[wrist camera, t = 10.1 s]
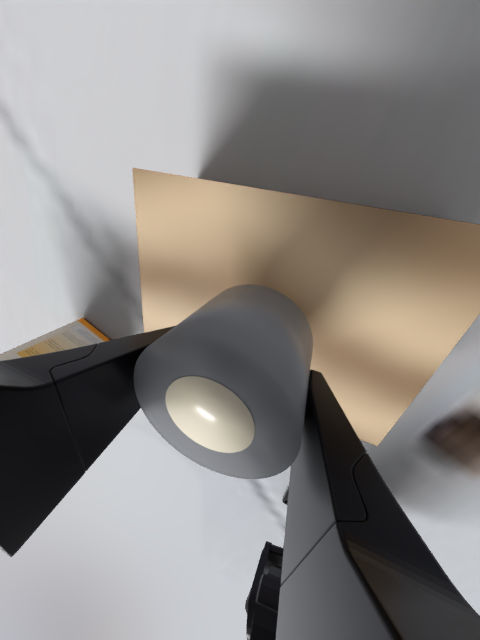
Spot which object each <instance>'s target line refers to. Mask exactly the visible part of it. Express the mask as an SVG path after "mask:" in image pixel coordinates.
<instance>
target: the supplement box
mask: <svg viewBox="0 0 480 640" xmlns="http://www.w3.org/2000/svg"><path fill="white" fill-rule="evenodd" d="M105 341H110V340H109V339H108V338H107V337H106V336H104V335H103V334H102V333H101V332H99V331H98V330H97V329H96V328H94V327H93V326H92V325H91V324H90V323H88V322H87V321H86V320H85V319H83V318H81V319H79V320H77V321H74V322H72V323H70V324H68V325H65V326H63V327H61V328H58V329H56V330H54V331H52V332H49V333H47V334H45V335H43V336H40V337H38V338H36V339H34V340H31V341H29V342H27V343H25V344H22V345H20V346H18V347H16V348H13V349H11V350H9V351H6V352H4V353H2V354H0V361H4V360H10V359H16V358H22V357H28V356H34V355H40V354H46V353H51V352H57V351H63V350H68V349H73V348H78V347H83V346H87V345H92V344H96V343H97V344H99V343H101V342H105Z"/></svg>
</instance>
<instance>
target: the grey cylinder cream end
mask: <svg viewBox="0 0 480 640" xmlns="http://www.w3.org/2000/svg"><path fill="white" fill-rule="evenodd" d="M312 351H313V336H312V331H311V328H310V325H309V322H308V320H307V319H306V317H305V315H304V314H303V312H302V311H301V309H300V308H299V307H298V306H297V305H296V304H295V303H294V302H293V301H292V300H290V299H289V298H288V297H286V296H285V295H283V294H282V293H280V292H278V291H276V290H274V289H271V288H268V287H265V286H260V285H253V284H245V285H238V286H233V287H231V288H228V289H226V290H224V291H222V292H221V293H219V294H218V295H217V296H215V297H214V298H213V299H211V300H210V301H209V302H207V303H206V304H205V305H203V306H202V307H201V308H199V309H198V310H196V311H195V312H194V313H192V314H191V315H190V316H188V317H187V318H186V319H184V320H183V321H182V322H180V323H179V324H178V325H176V326H175V327H174V328H172V329H171V330H170V331H168V332H167V333H166V334H164V335H163V336H161V337H160V338H159V339H157V340H156V341H155V342H153V343H152V344H151V345H149V346H148V347H147V348H146V349H145V350H144V351H143V352H142V353H141V354H140V356H139V358H138V360H137V362H136V365H135V368H134V388H135V392H136V396H137V399H138V401H139V404H140V406H141V408H142V410H143V412H144V414H145V416H146V417H147V419H148V420H149V422H150V423H151V424H152V426H153V427H154V428H155V429H156V431H157V432H158V433H159V434H160V435H161V436H162V437H163V438H164V439H165V440H166V441H167V442H168V443H169V444H170V445H171V446H173V447H174V448H175V449H176V450H178V451H179V452H180V453H182V454H183V455H184V456H186V457H188V458H189V459H191V460H192V461H194V462H196V463H198V464H199V465H201V466H203V467H206V468H208V469H210V470H212V471H215V472H218V473H221V474H224V475H228V476H232V477H237V478H245V479H260V478H267V477H271V476H274V475H277V474H279V473H281V472H283V471H284V470H286V469H287V468H288V467H289V466H290V465H291V464H292V463H293V462H294V461H295V459H296V458H297V456H298V454H299V451H300V448H301V441H302V433H303V425H304V416H305V408H306V400H307V392H308V384H309V375H310V367H311V359H312Z"/></svg>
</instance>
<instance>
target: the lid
mask: <svg viewBox="0 0 480 640" xmlns="http://www.w3.org/2000/svg"><path fill="white" fill-rule="evenodd" d="M133 182H134V196H135V211H136V225H137V239H138V253H139V267H140V282H141V296H142V310H143V324H144V333H145V332H150V331H154V330H159V329H163V328H168V327H172V326H176V325H178V324H179V323H180V322H182V321H183V320H184V319H186V318H187V317H188V316H190V315H191V314H192V313H194V312H195V311H196V310H198V309H199V308H201V307H202V306H203V305H205V304H206V303H207V302H209V301H210V300H211V299H213V298H214V297H215V296H217V295H218V294H219V293H221V292H222V291H224V290H226V289H228V288H231V287H233V286H238V285H245V284H253V285H260V286H265V287H268V288H271V289H274V290H276V291H278V292H280V293H282V294H283V295H285V296H286V297H288V298H289V299H290V300H292V301H293V302H294V303H295V304H296V305H297V306H298V307H299V308H300V309H301V311H302V312H303V314H304V315H305V317H306V319H307V320H308V322H309V325H310V328H311V331H312V336H313V351H312V359H311V367H310V370H311V369H312V370H315V371H318V372H321V373H322V374H323V376H324V378H325V380H326V381H327V383H328V385H329V387H330V388H331V390H332V392H333V394H334V395H335V397H336V399H337V401H338V402H339V404H340V406H341V408H342V409H343V411H344V413H345V415H346V416H347V418H348V420H349V422H350V424H351V425H352V427H353V429H354V431H355V432H356V434H357V436H358V438H359V439H360V440H363V441H365V442H368V443H370V444H373V445H375V446H378V445H379V444H380V442H381V441H382V440H383V439H384V437H385V436H386V435H387V433H388V432H389V431H390V429H391V428H392V427H393V426H394V424H395V423H396V422H397V420H398V419H399V418H400V416H401V415H402V414H403V413H404V411H405V410H406V409H407V407H408V406H409V405H410V403H411V402H412V401H413V400H414V398H415V397H416V396H417V394H418V393H419V392H420V390H421V389H422V388H423V387H424V385H425V384H426V383H427V381H428V380H429V379H430V378H431V376H432V375H433V374H434V372H435V371H436V370H437V368H438V367H439V366H440V365H441V363H442V362H443V361H444V359H445V358H446V357H447V355H448V354H449V353H450V352H451V350H452V349H453V348H454V346H455V345H456V344H457V342H458V341H459V340H460V339H461V337H462V336H463V335H464V333H465V332H466V331H467V329H468V328H469V327H470V326H471V324H472V323H473V322H474V320H475V319H476V318H477V317H478V315H479V314H480V225H479V224H473V223H467V222H461V221H455V220H449V219H442V218H436V217H430V216H424V215H418V214H412V213H406V212H400V211H394V210H387V209H381V208H375V207H369V206H363V205H357V204H351V203H345V202H339V201H332V200H326V199H320V198H314V197H308V196H302V195H296V194H290V193H284V192H277V191H271V190H265V189H259V188H253V187H247V186H241V185H235V184H229V183H222V182H216V181H210V180H204V179H198V178H192V177H186V176H180V175H174V174H167V173H161V172H155V171H149V170H143V169H137V168H133Z"/></svg>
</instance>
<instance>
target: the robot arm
mask: <svg viewBox="0 0 480 640" xmlns="http://www.w3.org/2000/svg"><path fill="white" fill-rule="evenodd" d="M174 327H175V326H172V327H168V328H163V329H159V330H154V331H150V332H145V333H141V334H137V335H132V336H128V337H123V338H119V339H114V340H110V341H105V342H101V343H99V344H97V343H96V344H92V345H87V346H83V347H78V348H73V349H68V350H63V351H57V352H51V353H46V354H40V355H34V356H28V357H22V358H16V359H10V360H4V361H0V549H1V550H2V551H3V552H5V553H6V554H7V555H9V556H10V557H12V556H13V555H14V554H15V553H16V552H17V551H18V550H19V549H20V548H21V546H22V545H23V544H24V543H25V542H26V541H27V540H28V538H29V537H30V536H31V535H32V534H33V533H34V531H35V530H36V529H37V528H38V527H39V526H40V524H41V523H42V522H43V521H44V520H45V519H46V517H47V516H48V515H49V514H50V513H51V512H52V510H53V509H54V508H55V507H56V506H57V505H58V503H59V502H60V501H61V500H62V499H63V498H64V497H65V495H66V494H67V493H68V492H69V491H70V490H71V488H72V487H73V486H74V485H75V484H76V483H77V482H78V480H79V479H80V478H81V477H82V476H83V475H84V473H85V471H87V470H88V468H89V467H90V466H91V465H92V464H93V463H94V461H95V460H96V459H97V458H98V457H99V456H100V455H101V453H102V452H103V451H104V450H105V449H106V448H107V446H108V445H109V444H110V443H111V442H112V441H113V439H114V438H115V437H116V436H117V435H118V434H119V433H120V431H121V430H122V429H123V428H124V427H125V426H126V424H127V423H128V422H129V421H130V420H131V419H132V417H133V416H134V415H135V414H136V413H137V412H138V410H139V409H140V408H141V406H140V404H139V401H138V399H137V396H136V392H135V388H134V368H135V365H136V362H137V360H138V358H139V356H140V354H141V353H142V352H143V351H144V350H145V349H146V348H147V347H148V346H149V345H151V344H152V343H153V342H155V341H156V340H157V339H159V338H160V337H161V336H163V335H164V334H166V333H167V332H168V331H170V330H171V329H172V328H174ZM283 503H285V504H286V505H288V506H287V517H286V528H285V539H284V546H283V548H281V547H278V546H275V545H272V543H270V542H267V541H266V544H265V547H264V549H263V550H262V554H261V557H260V560H259V564H258V567H257V571H256V574H255V578H254V581H253V585H252V588H251V590H250V593H249V595H248V597H247V600H246V606H245V609H246V612H247V640H480V616H479V615H478V614H477V613H476V611H475V610H474V609H473V608H472V607H471V606H470V605H469V603H468V602H467V601H466V600H465V599H464V597H463V596H462V595H461V594H460V592H459V591H458V590H457V589H456V587H455V586H454V585H453V583H452V582H451V580H450V579H449V578H448V576H447V575H446V573H445V572H444V570H443V569H442V568H441V566H440V565H439V563H438V562H437V560H436V559H435V557H434V556H433V554H432V553H431V551H430V550H429V548H428V547H427V545H426V544H425V542H424V541H423V539H422V538H421V536H420V535H419V533H418V532H417V531H416V529H415V528H414V526H413V525H412V523H411V522H410V520H409V519H408V517H407V516H406V514H405V513H404V511H403V510H402V508H401V507H400V505H399V504H398V502H397V501H396V499H395V498H394V496H393V495H392V493H391V491H390V490H389V488H388V487H387V485H386V484H385V482H384V480H383V479H382V477H381V475H380V474H379V472H378V470H377V469H376V467H375V465H374V464H373V462H372V460H371V458H370V457H369V455H368V454H367V453H366V450H365V448H364V446H363V445H362V443H361V441H360V439H359V438H358V436H357V434H356V432H355V431H354V429H353V427H352V425H351V424H350V422H349V420H348V418H347V416H346V415H345V413H344V411H343V409H342V408H341V406H340V404H339V402H338V401H337V399H336V397H335V395H334V394H333V392H332V390H331V388H330V387H329V385H328V383H327V381H326V380H325V378H324V376H323V374H322V373H321V372H318V371H315V370H312V369H311V370H310V375H309V384H308V392H307V400H306V408H305V416H304V425H303V433H302V441H301V448H300V451H299V454H298V456H297V458H296V459H295V461H294V462H293V463H292V464H291V472H290V483H289V486H288V488H287V490H286V492H285V494H284V496H283Z"/></svg>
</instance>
